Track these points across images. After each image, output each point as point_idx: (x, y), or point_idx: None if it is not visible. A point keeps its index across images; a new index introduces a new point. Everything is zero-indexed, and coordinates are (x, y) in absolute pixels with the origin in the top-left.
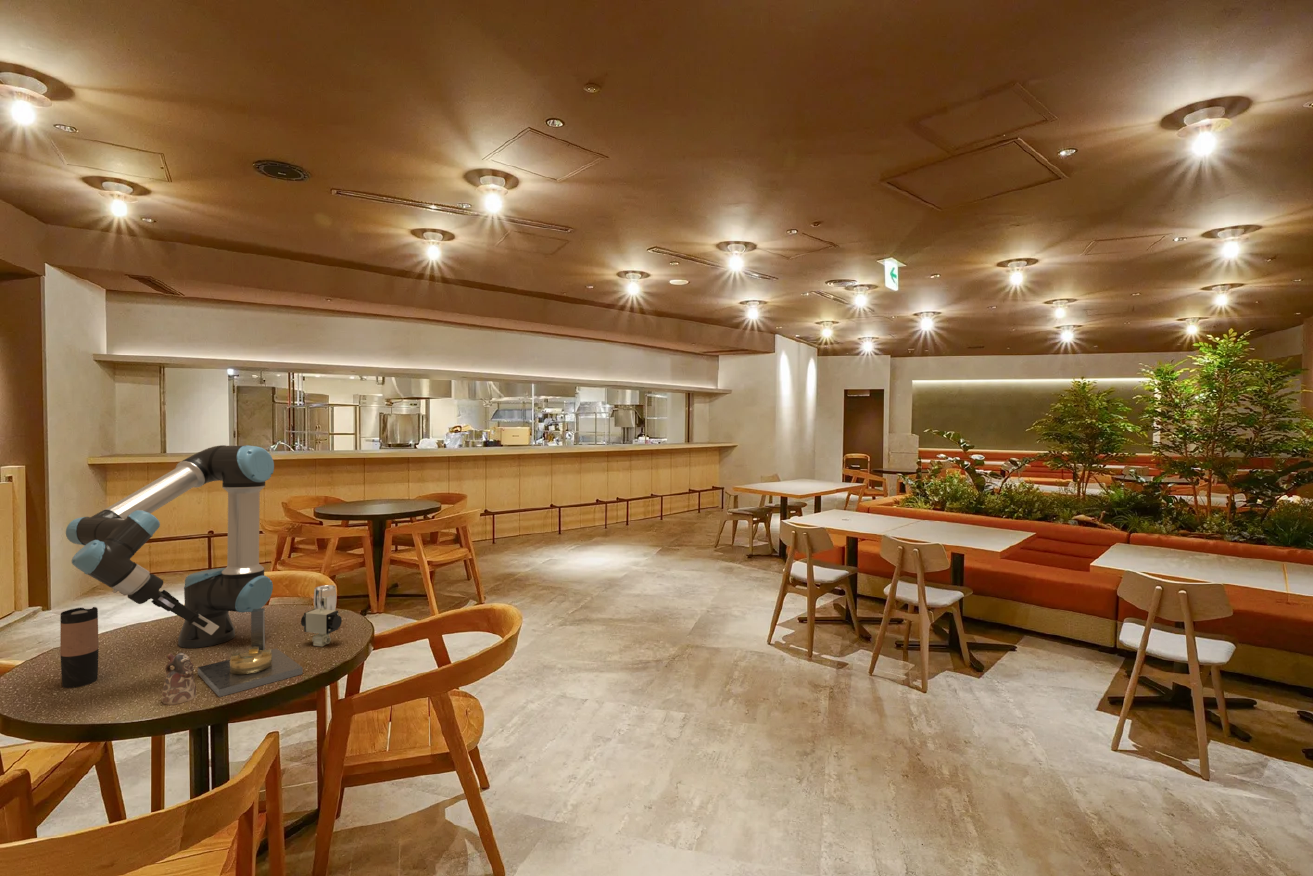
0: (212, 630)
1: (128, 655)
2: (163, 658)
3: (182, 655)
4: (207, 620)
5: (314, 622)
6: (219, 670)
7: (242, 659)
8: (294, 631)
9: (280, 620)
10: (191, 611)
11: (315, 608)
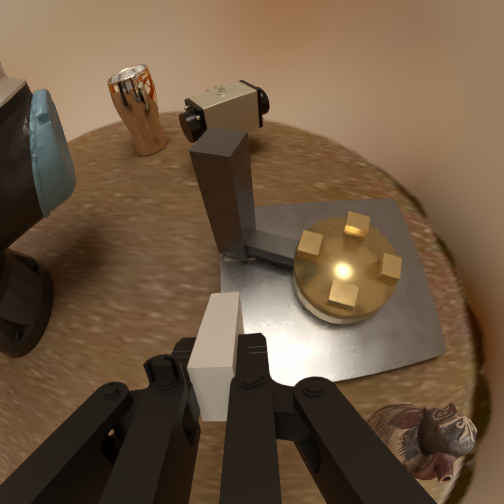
0: (242, 324)
1: (3, 432)
2: (49, 407)
3: (473, 432)
4: (235, 329)
5: (229, 118)
6: (304, 347)
7: (360, 282)
8: (109, 180)
9: None
10: (375, 436)
11: (135, 115)
